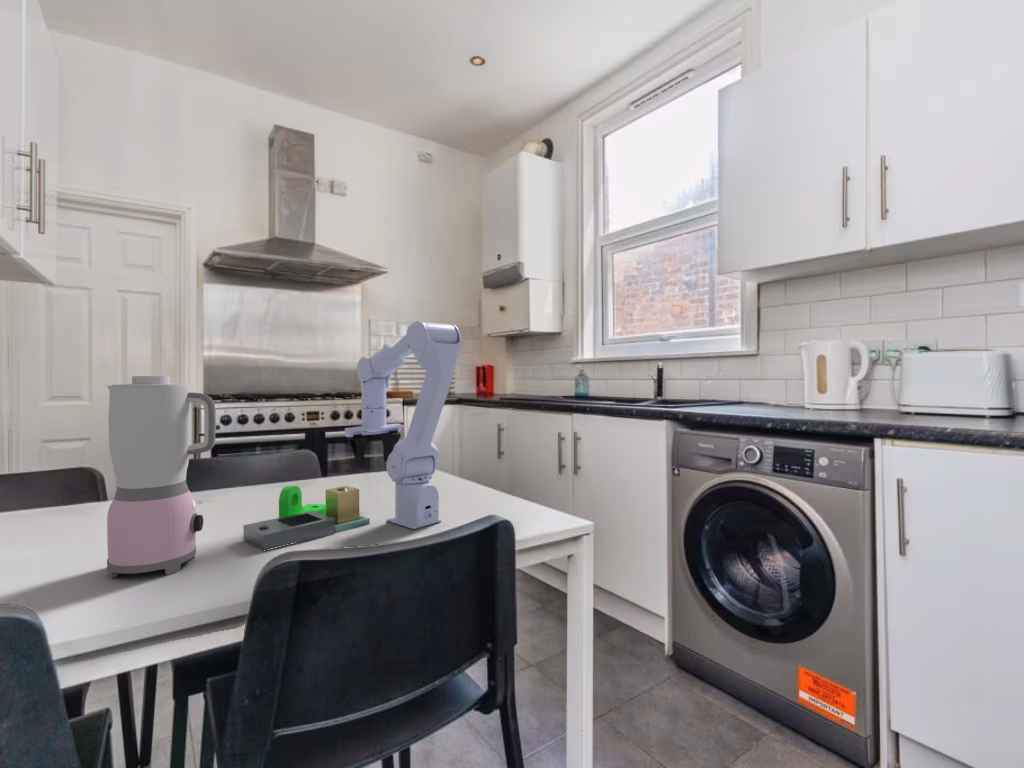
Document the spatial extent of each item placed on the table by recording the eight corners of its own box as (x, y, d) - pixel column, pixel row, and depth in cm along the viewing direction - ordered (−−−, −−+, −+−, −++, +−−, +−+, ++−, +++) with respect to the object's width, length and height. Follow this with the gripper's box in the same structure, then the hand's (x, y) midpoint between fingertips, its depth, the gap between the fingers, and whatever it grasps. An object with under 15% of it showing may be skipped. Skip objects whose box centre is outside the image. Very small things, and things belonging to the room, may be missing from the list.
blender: (90, 585, 79) (87, 376, 78) (125, 557, 91) (122, 375, 90) (207, 574, 83) (204, 376, 83) (225, 549, 95) (223, 375, 94)
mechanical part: (305, 527, 108) (305, 489, 108) (278, 526, 109) (278, 488, 108) (332, 513, 120) (332, 478, 120) (308, 512, 120) (308, 477, 120)
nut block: (359, 521, 111) (359, 488, 111) (338, 526, 107) (337, 492, 107) (346, 517, 114) (346, 485, 114) (325, 522, 110) (325, 488, 110)
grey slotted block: (334, 533, 104) (334, 517, 104) (263, 551, 94) (263, 533, 94) (312, 524, 110) (312, 509, 110) (243, 540, 100) (243, 523, 100)
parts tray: (369, 523, 111) (369, 518, 111) (335, 532, 105) (335, 526, 105) (349, 516, 116) (349, 511, 116) (315, 524, 110) (315, 519, 110)
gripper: (389, 405, 132) (389, 458, 132) (337, 408, 121) (338, 466, 122) (406, 406, 127) (406, 461, 128) (354, 410, 117) (354, 469, 117)
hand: (374, 464), depth 124 cm, fingers open, 7 cm apart
